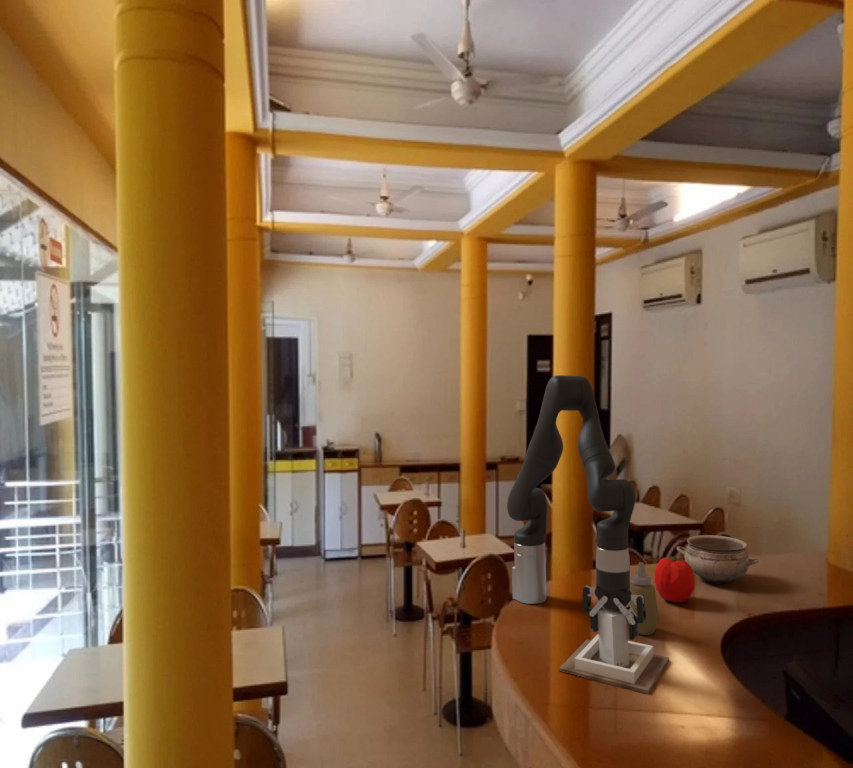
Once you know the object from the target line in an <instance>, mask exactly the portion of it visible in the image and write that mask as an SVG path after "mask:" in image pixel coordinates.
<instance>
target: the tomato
mask: <svg viewBox="0 0 853 768" xmlns="http://www.w3.org/2000/svg"><path fill="white" fill-rule="evenodd" d="M694 574H695V573H694V572H693V570H692V568H691V566H690V565H689V564H688V563H687V562H686V561H685V558H682V557H679V556H675V555H674V556H672V555H669V557H668V556H667V557H662V558H660V560H659V561H658V563H657V565H656V567H655V571H654V576H653V581H654V584H655V590H656V591H657V593H658V594H659V596H660V597H661V598H662V599H663V600H665V601H668V602H671V603H684V602H686V601H688V599H690V598H691V596H692V595H693V592H694V590H695V585H696V584H695V583H696V581H695V575H694Z"/></svg>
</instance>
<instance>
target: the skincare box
mask: <svg viewBox="0 0 853 768" xmlns="http://www.w3.org/2000/svg"><path fill="white" fill-rule="evenodd" d="M597 614H598V631H597V632H598V634H599V651H600V659H602V660H603V661H605V662H606V663H608V664H611V665H615V666H619V667H626V666H629V651H628V641H629V635H628V634H629V630H628V620H627V618H626V617H625V616H624V615H623V613H622V612H621V611H619V612H617V611H614V610H607V609H605V608H604V607H602V608H601V609H600V610H599V611H598V612H597Z"/></svg>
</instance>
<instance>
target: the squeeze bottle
mask: <svg viewBox="0 0 853 768" xmlns="http://www.w3.org/2000/svg"><path fill="white" fill-rule="evenodd" d="M631 579H632V580H631V582H630V592H631V594H632V595H640V594H643V595H644V596H645V609H646V620H645V621H644V622H643V623H642V624H640V623H638V635H644V636H647V635H652V634H654V633H655V631H656V628H657V625H658V621H659V620H660V619H659V618H660V617H659V611H658V603H657V594H656V586H654V585H653V584H652V577H651V576H650V575H647V571H646V568H645V564H644V562H641V561H640V562H638V565H637V570H636V573H635V574H633V575H632V576H631ZM629 604H630V605H631V607H632V608H633V611H634V613H635V614H636V616H637V605H635V604H634V601H633V600H631V601H630V602H629ZM627 624H628V625H629V624H630V622H629V620H628V619H627Z"/></svg>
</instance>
